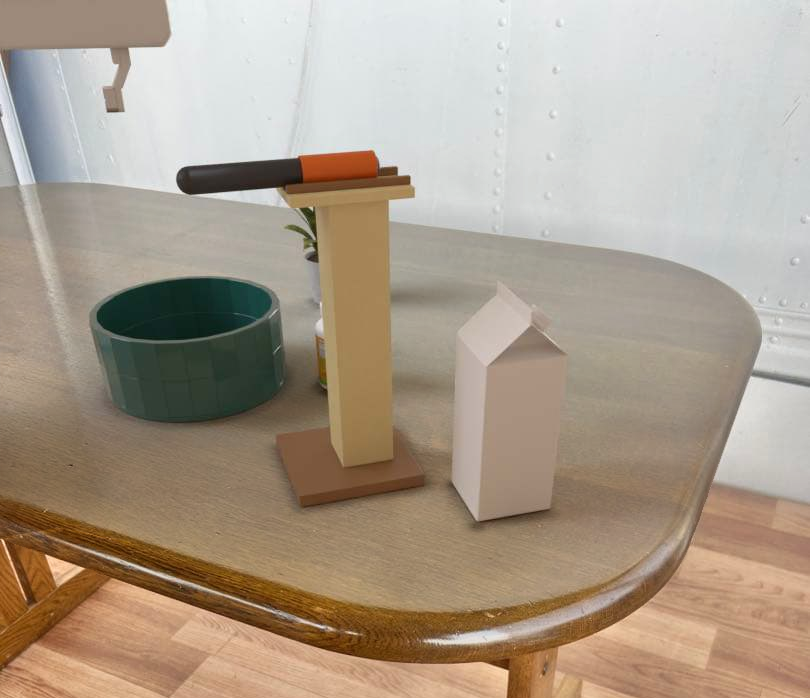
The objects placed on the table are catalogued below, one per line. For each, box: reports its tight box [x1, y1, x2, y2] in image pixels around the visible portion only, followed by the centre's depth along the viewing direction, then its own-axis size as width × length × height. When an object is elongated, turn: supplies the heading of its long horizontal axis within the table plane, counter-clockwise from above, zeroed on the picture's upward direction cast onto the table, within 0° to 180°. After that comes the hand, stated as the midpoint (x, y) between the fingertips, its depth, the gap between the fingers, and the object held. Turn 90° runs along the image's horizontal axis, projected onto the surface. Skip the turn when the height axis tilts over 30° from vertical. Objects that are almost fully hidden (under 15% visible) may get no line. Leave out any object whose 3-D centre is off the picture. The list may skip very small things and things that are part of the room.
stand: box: [275, 165, 425, 508], centre depth 72 cm, size 12×12×27 cm
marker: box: [175, 149, 381, 196], centre depth 63 cm, size 16×2×2 cm, turn 108°
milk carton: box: [451, 281, 569, 522], centre depth 70 cm, size 7×7×19 cm
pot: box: [88, 275, 287, 423], centre depth 93 cm, size 21×21×9 cm
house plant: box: [283, 207, 321, 306], centre depth 111 cm, size 14×14×16 cm
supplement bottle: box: [314, 301, 328, 391], centre depth 92 cm, size 5×5×10 cm
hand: (55, 114), depth 66 cm, fingers open, 8 cm apart
